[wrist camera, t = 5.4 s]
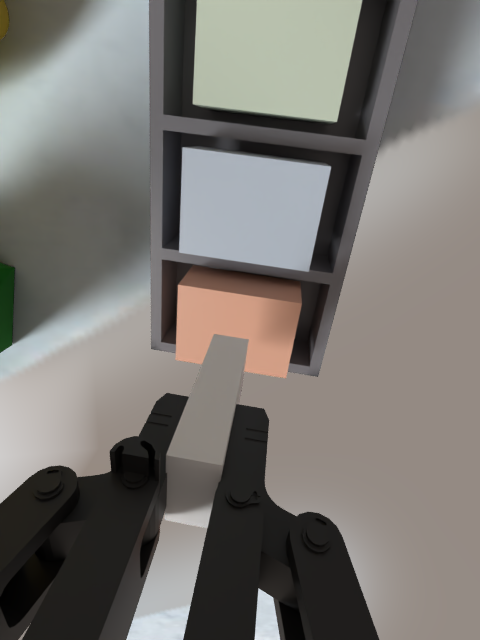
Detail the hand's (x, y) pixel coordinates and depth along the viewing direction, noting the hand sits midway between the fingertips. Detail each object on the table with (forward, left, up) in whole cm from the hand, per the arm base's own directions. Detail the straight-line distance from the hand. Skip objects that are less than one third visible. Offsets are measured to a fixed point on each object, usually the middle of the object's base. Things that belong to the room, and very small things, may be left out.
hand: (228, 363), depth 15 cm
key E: (0, 0, -6) cm, 6 cm away
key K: (-6, 0, -6) cm, 8 cm away
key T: (-12, 0, -7) cm, 14 cm away
